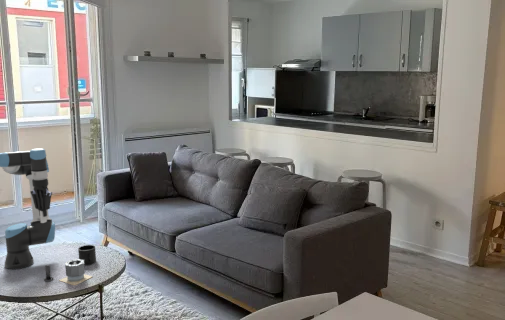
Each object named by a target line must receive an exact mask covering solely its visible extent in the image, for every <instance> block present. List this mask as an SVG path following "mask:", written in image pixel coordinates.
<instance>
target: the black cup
mask: <svg viewBox="0 0 505 320" xmlns="http://www.w3.org/2000/svg"><path fill="white" fill-rule="evenodd" d="M77 250H78V252H77V253H78V259H81V260H84V266H90V265H93V264H96V262H97V254H96V253H97V252H96V246H95V245H92V244H86V245H82V246H79V247H78V249H77Z"/></svg>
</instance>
